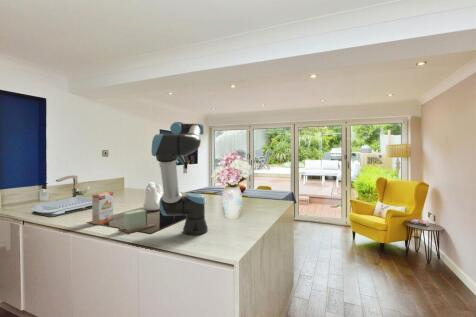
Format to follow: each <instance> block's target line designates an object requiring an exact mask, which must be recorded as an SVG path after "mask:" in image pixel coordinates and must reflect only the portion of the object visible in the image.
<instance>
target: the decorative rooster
mask: <svg viewBox="0 0 476 317" xmlns="http://www.w3.org/2000/svg"><path fill="white" fill-rule="evenodd" d="M163 194H164V190H163V186H161V184H156V183H155V182H154V181H149V182H148V183H147V186H146V187H145V198H144V203H143V208H144V210H147V211H157V210H160V204H159V202H160V198H161V197H162V195H163Z"/></svg>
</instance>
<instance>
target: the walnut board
mask: <svg viewBox="0 0 476 317" xmlns="http://www.w3.org/2000/svg"><path fill="white" fill-rule="evenodd" d="M152 228H156V225H155V224H154V223H150V222H147V226H143V227H139V228H135V229H132V230H126V229H124V227H123V226H121V227H119V228H118V231H120V232H123V233H126V234H128V235H130V234H134V233H137V232H142V231H145V230H148V229H152Z"/></svg>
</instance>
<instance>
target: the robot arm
mask: <svg viewBox="0 0 476 317" xmlns="http://www.w3.org/2000/svg"><path fill="white" fill-rule="evenodd" d="M169 129H170V132H171V133H160V134H159V133H157V134H155V135H154V136H153V138H152V142H151V155H152V156H153V157H156V161H157V162H159V167H160V175H161V180H162V181H161V182H162V183H161V184H162V191H163V195H162V197H161V198H160V202H159V204H160V209H159V211H160V213H161V214H162V216H165V217H171V216H185V220H184V221H185V222H184V226H183V228H182V229H183V230H182V233H183V234H185V235H187V236H199V235H203V234H204V235H205V234H206V233H207V232H208V231H209V230H208V225H207V222H206V218H205V217H206V216H205V212H206V210H205V208H206V207H205V205H206V201H205V196H204V195H203V194H200V193H194V192H193V193H186V194H185V196H184V195H182V193H181V192H180V191H179V183H178V182H179V181H178V170H177V160H178V158H179V157H180V158H181V159H180V160H182V163H183V164H182V165H183V166H182V170H183V171H182V172H183V173H182V174H187V173H188V164H190V159H189V157H188V155H191V154H193V153H194V152H196V151H197V150H198V149H199V148H200V146H201V137H200V136H202V135H204V132H205V130H204V129H205V126H204V124H203V123H184V122H182V121H174V122H173V123H171V125H170V127H169Z"/></svg>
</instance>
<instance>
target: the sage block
mask: <svg viewBox="0 0 476 317" xmlns="http://www.w3.org/2000/svg"><path fill="white" fill-rule="evenodd" d="M122 214H123V217H122V219H123V220H122V222H123V223H122V224H123V226H122V227H124V229H126V230H132V229H135V228H139V227H143V226H147V223H148V210H146V209H145V208H144V209H143V208H140V209H136V210H131V211H125V212H122Z"/></svg>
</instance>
